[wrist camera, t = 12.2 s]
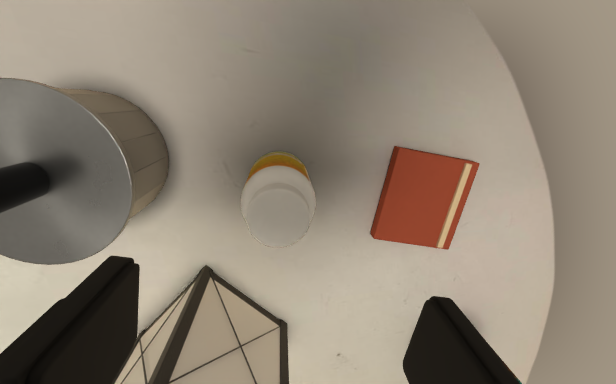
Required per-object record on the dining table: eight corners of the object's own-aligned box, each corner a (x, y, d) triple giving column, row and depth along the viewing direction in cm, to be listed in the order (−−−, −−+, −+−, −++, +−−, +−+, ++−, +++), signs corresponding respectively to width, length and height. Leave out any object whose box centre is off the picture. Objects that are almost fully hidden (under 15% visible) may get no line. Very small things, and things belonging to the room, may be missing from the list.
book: (394, 146, 28) (400, 148, 26) (472, 160, 29) (482, 164, 27) (370, 233, 30) (374, 240, 29) (442, 244, 31) (450, 251, 30)
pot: (32, 78, 23) (-76, 69, 16) (173, 105, 25) (130, 108, 18) (40, 203, 26) (-50, 242, 19) (165, 221, 28) (125, 263, 21)
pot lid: (-76, 59, 17) (-202, 44, 12) (143, 101, 18) (100, 101, 14) (-48, 244, 20) (-141, 285, 15) (136, 266, 21) (100, 308, 17)
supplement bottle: (239, 164, 27) (217, 198, 18) (294, 140, 27) (301, 163, 17) (264, 215, 29) (256, 270, 19) (316, 193, 28) (334, 239, 19)
